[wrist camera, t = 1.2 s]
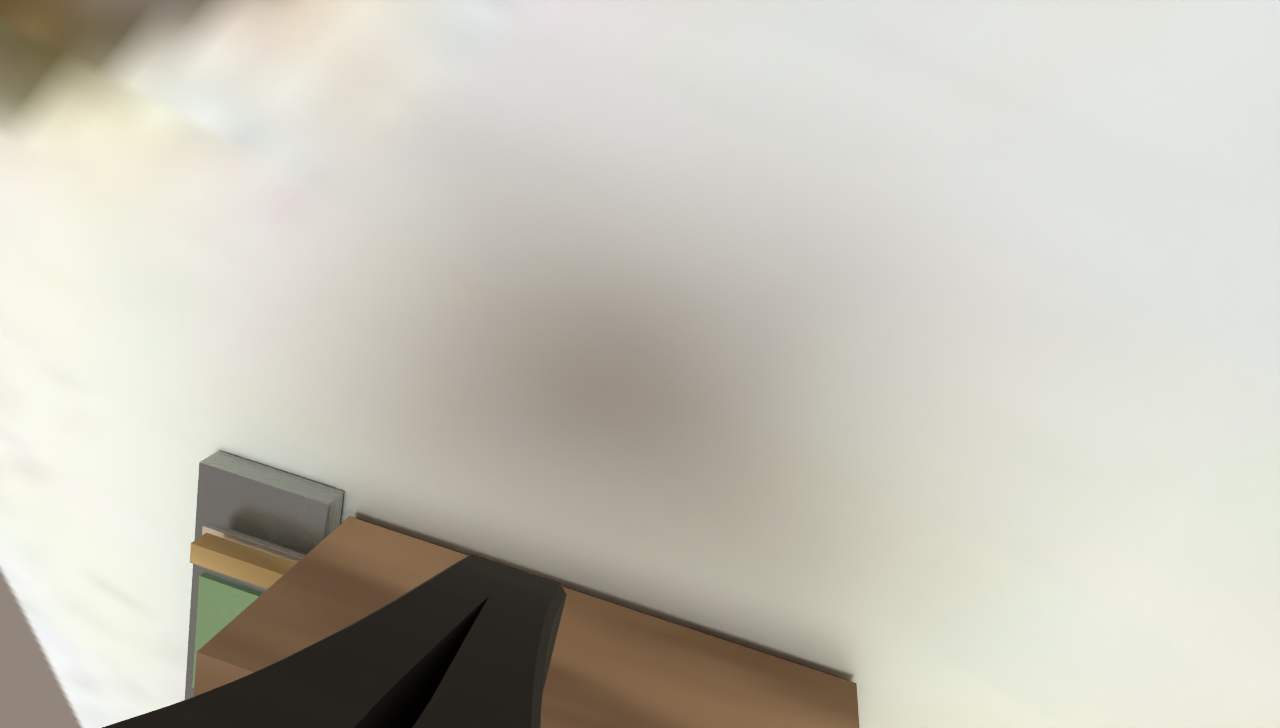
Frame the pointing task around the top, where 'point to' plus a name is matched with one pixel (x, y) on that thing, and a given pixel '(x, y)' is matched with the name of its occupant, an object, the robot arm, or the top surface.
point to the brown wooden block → (582, 656)
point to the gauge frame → (250, 534)
